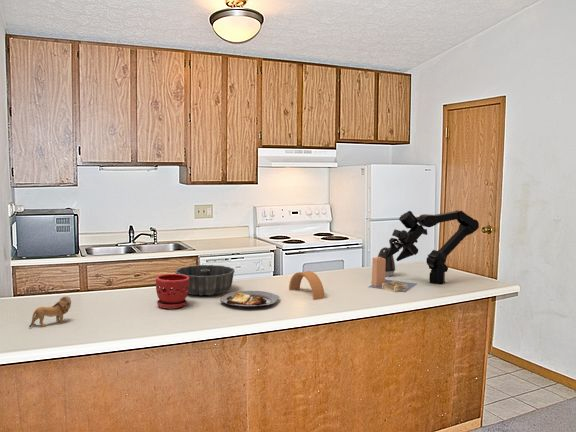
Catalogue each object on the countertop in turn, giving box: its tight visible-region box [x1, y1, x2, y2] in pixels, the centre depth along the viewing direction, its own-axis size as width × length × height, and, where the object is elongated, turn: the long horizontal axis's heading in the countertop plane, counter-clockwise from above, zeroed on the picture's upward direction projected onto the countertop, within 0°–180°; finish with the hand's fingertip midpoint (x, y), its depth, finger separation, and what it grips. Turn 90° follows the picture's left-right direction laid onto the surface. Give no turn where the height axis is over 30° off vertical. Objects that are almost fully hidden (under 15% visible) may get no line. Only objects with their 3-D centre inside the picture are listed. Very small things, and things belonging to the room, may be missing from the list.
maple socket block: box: [381, 280, 408, 293], centre depth 229 cm, size 8×8×2 cm
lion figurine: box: [28, 296, 72, 328], centre depth 175 cm, size 15×5×9 cm, turn 138°
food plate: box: [219, 290, 280, 308], centre depth 207 cm, size 25×23×4 cm
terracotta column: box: [371, 256, 386, 287], centre depth 236 cm, size 4×4×14 cm
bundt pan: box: [174, 264, 236, 297], centre depth 223 cm, size 26×26×10 cm
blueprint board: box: [368, 278, 418, 293], centre depth 237 cm, size 18×20×1 cm
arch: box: [288, 270, 325, 301], centre depth 221 cm, size 6×20×10 cm, turn 32°
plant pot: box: [155, 273, 189, 310], centre depth 200 cm, size 13×13×12 cm
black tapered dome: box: [377, 246, 396, 278], centre depth 259 cm, size 10×10×15 cm
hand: (391, 258), depth 237 cm, fingers open, 9 cm apart
